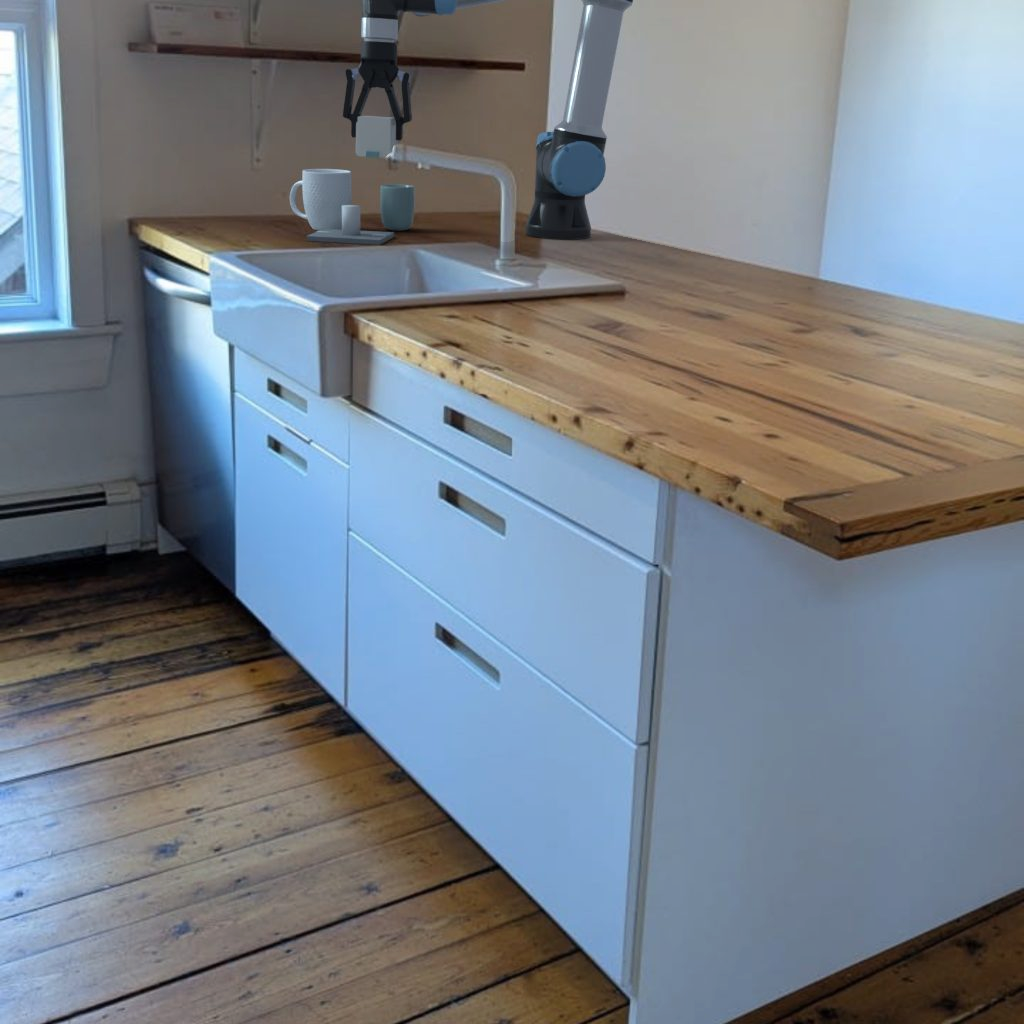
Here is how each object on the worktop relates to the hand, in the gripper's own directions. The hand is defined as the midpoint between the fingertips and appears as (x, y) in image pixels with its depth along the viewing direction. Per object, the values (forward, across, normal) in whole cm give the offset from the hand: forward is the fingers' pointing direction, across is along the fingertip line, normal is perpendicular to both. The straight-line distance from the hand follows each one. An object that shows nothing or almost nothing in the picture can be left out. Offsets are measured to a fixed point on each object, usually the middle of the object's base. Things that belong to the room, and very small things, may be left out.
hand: (376, 154), depth 281 cm
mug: (+18, +15, -15) cm, 28 cm away
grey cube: (0, 0, 0) cm, 0 cm away
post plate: (+18, +5, 0) cm, 19 cm away
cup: (+18, -1, -20) cm, 27 cm away
